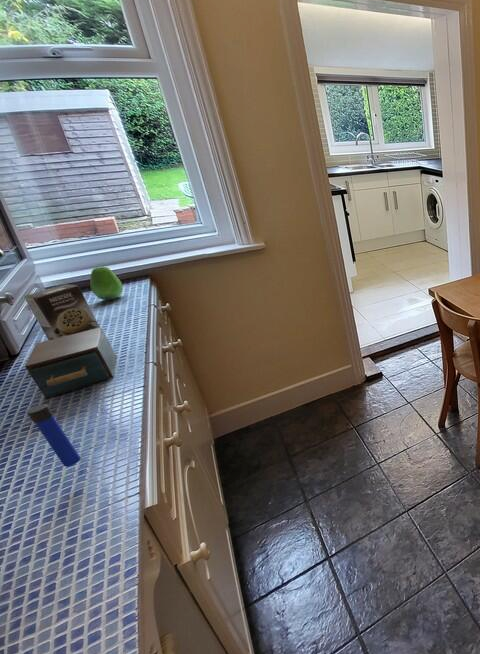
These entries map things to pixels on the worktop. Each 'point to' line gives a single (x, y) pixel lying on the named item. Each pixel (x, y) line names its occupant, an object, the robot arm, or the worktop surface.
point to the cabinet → (73, 352)
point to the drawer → (69, 373)
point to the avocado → (105, 283)
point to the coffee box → (61, 311)
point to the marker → (54, 434)
